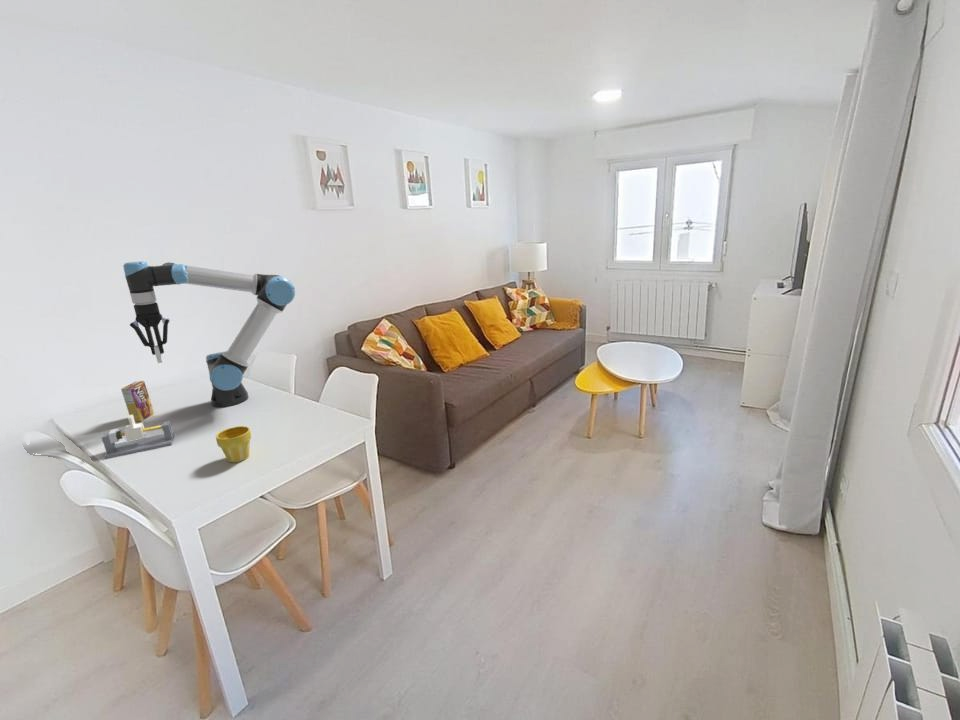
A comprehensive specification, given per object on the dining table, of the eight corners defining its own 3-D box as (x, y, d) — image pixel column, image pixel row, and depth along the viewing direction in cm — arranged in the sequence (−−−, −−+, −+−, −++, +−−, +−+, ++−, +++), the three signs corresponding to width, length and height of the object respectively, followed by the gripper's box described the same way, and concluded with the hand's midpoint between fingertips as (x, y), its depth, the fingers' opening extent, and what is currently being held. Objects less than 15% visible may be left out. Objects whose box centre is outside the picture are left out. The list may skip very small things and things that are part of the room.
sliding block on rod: (175, 434, 178) (170, 416, 175) (171, 444, 169) (166, 425, 167) (112, 447, 169) (106, 428, 167) (105, 458, 161) (98, 438, 158)
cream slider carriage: (145, 433, 171) (139, 412, 168) (143, 438, 167) (137, 417, 164) (129, 436, 169) (123, 415, 166) (127, 441, 165) (120, 420, 162)
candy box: (144, 413, 199) (135, 381, 195) (154, 413, 199) (145, 380, 195) (130, 422, 191) (120, 388, 186) (140, 421, 191) (131, 387, 186)
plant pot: (229, 451, 162) (224, 426, 159) (259, 449, 163) (254, 424, 160) (216, 466, 152) (209, 440, 149) (248, 464, 153) (242, 438, 150)
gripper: (166, 299, 180) (180, 356, 187) (126, 303, 174) (142, 362, 181) (163, 302, 173) (178, 361, 180) (122, 306, 168) (139, 367, 175)
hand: (160, 361), depth 181 cm, fingers closed
